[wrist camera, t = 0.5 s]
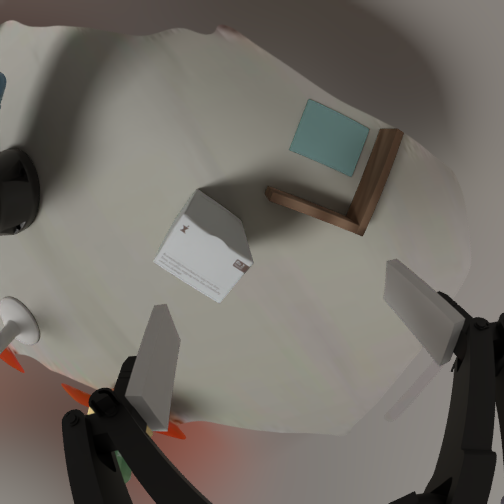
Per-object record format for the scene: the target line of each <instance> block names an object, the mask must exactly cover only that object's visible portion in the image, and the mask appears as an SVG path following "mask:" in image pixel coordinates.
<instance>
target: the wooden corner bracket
mask: <svg viewBox="0 0 504 504" xmlns="http://www.w3.org/2000/svg"><path fill="white" fill-rule="evenodd" d="M403 134H404V133H403V132H402V131H400V130H399V129H380V130H379V133H378V136H377V139H376V142H375V144H374V147H373V150H372V152H371V155H370V158H369V160H368V163H367V166H366V168H365V171H364V173H363V176H362V178H361V181H360V183H359V186H358V188H357V191H356V193H355V196H354V198H353V200H352V203H351V205H350V208H349V210H348V212H347V215H346V216H344V215H342V214H339V213H337V212H335V211H332V210H330V209H327V208H325V207H322V206H320V205H317V204H315V203H312V202H309V201H307V200H304V199H302V198H299V197H296V196H294V195H291V194H289V193H286V192H283V191H280V190H278V189H275V188H272V187H269V186H268V187H267V189H266V192H265V195H266V197H267V198H268V200H269V201H271V202H274V203H276V204H279V205H282V206H285V207H288V208H290V209H293V210H296V211H299V212H301V213H304V214H307V215H309V216H312V217H315V218H317V219H320V220H322V221H325V222H328V223H330V224H333V225H335V226H338V227H340V228H343V229H345V230H348V231H350V232H353V233H355V234H358V235H360V236H363V235H364V233H365V230H366V228H367V226H368V224H369V221H370V219H371V217H372V215H373V212H374V210H375V208H376V205H377V203H378V200H379V198H380V196H381V193H382V191H383V188H384V186H385V183H386V181H387V178H388V176H389V173H390V170H391V168H392V165H393V162H394V160H395V157H396V154H397V151H398V148H399V146H400V143H401V140H402V137H403Z"/></svg>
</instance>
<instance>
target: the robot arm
mask: <svg viewBox="0 0 504 504" xmlns="http://www.w3.org/2000/svg"><path fill="white" fill-rule="evenodd" d="M5 87H6V78H5V76H4V74H3V73H1V72H0V104H1V100H2V97H3V94H4V91H5ZM0 108H1V105H0ZM39 196H40V190H39V181H38V176H37V172H36V169H35V167H34V165H33V163H32V161H31V159H30V158H29V157H28V155H27V154H25V153H24V152H23V151H21V150H18V149H9V150H4V151H1V152H0V236H2V235H14V234H17V233H19V232H21V231H23V230H25V229H26V228H27V227H29V226H30V224H31V223H32V222H33V220H34V218H35V216H36V213H37V210H38V205H39ZM384 300H385V301H386V302H387V304H388V305H389V306H390V307H391V308H392V309H393V311H394V312H395V313H396V314H397V315H398V316H399V318H400V319H401V320H402V321H403V322H404V323H405V325H406V326H407V327H408V328H409V329H410V331H411V332H412V333H413V334H414V335H415V337H416V338H417V339H418V340H419V342H420V343H421V344H422V345H423V347H424V348H425V349H426V350H427V352H428V353H429V354H430V355H431V357H432V358H433V359H434V360H435V362H436V363H437V364H438V366H441V365H443V364H445V363H447V362H449V361H450V359H451V357H452V354H453V352H454V353H455V355H456V356H457V357H456V360H455V362H454V364H453V367H452V369H451V372H453V369H454V378H453V388H452V395H451V402H450V408H449V414H448V419H447V424H446V429H445V434H444V438H443V442H442V446H441V451H440V454H439V458H438V461H437V465H436V468H435V471H434V474H433V476H432V478H431V480H430V482H429V483H428V485H427V487H426V489H425V491H424V493H423V494H416V493H415V491H414V492H412V493H410V494H408V495H406V496H404V497H402V498H399V499H397V500H395V501H393V502H390V503H389V504H487V501H488V497H489V494H490V490H491V485H492V481H493V476H494V471H495V466H496V456H497V455H496V453H495V452H493V451H492V449H491V448H492V439H493V429H494V417H495V402H496V407H497V412H498V418H499V424H500V432H501V439H502V449H503V462H504V313H502V314H501V315H500V317H499V320H498V322H493V323H489V322H488V321H487V320H485V319H484V318H480V317H476V318H472V317H471V316H470V315H469V314H468V313H467V312H466V311H465V310H464V309H463V308H461V307H460V306H459V305H457V303H456V302H455V301H453V299H451V298H450V297H449V296H448V295H446V294H444V293H442V292H440V291H439V292H436V291H435V290H433V289H432V288H431V287H430V286H429V285H428V284H427V283H425V282H424V281H423V280H422V279H421V278H419V277H418V276H417V275H416V274H415V273H414V272H412V271H411V270H410V269H409V268H407V267H406V266H405V265H404V264H403V263H401V262H400V261H399V260H398V259H394V260H390V261H387V264H386V278H385V289H384ZM180 341H181V340H180V338H179V335H178V333H177V330H176V328H175V325H174V322H173V320H172V317H171V315H170V312H169V309H168V306H167V304H162V305H155V306H154V308H153V311H152V313H151V316H150V319H149V322H148V325H147V328H146V330H145V333H144V336H143V339H142V342H141V345H140V348H139V351H138V354H137V356H130V357H128V358H127V359H126V360H125V362H124V363H123V365H122V367H121V370H120V373H119V376H118V379H117V382H116V385H115V388H114V391H113V390H112V389H110V388H101V389H98V390H96V391H95V392H94V393H93V394H92V395H91V396H90V398H89V406H90V408H91V409H92V410H93V411H94V412H95V413H93V414H89V415H84V414H83V413H82V412H81V411H80V410H77V409H75V410H71V411H69V412H67V413H66V414H65V415H64V417H63V419H62V432H63V442H64V451H65V458H66V465H67V471H68V476H69V482H70V486H71V491H72V495H73V500H74V504H133V503H132V500H131V498H130V495H129V493H128V490H127V487H126V485H125V482H124V479H123V476H122V473H121V470H120V467H119V464H118V461H117V458H116V454H115V451H117V450H118V451H119V453H120V454H121V456H122V457H123V459H124V460H125V462H126V463H127V465H128V466H129V468H130V469H131V471H132V472H133V474H134V475H135V476H136V478H137V479H138V481H139V482H140V483H141V485H142V486H143V487H144V489H145V490H146V491H147V493H148V494H149V495H150V496H151V497H152V499H153V500H154V501H155V502H156V504H212V503H211V502H210V501H209V500H208V499H207V498H206V497H205V496H204V495H202V494H201V493H200V492H199V491H198V490H197V489H196V488H195V487H194V486H193V485H192V484H191V483H190V482H189V481H188V480H187V479H186V478H185V477H184V476H183V475H182V473H180V471H179V470H178V469H177V468H176V467H175V466H174V465H173V464H172V463H171V461H169V459H168V458H167V457H166V456H165V455H164V453H163V452H162V451H161V450H160V449H159V447H158V446H157V445H156V444H155V443H154V441H153V440H152V439H151V438H150V436H149V435H148V434H147V433H146V428H147V425H148V427H149V428H150V429H151V430H152V431H167V430H168V422H169V414H170V406H171V399H172V391H173V385H174V378H175V371H176V365H177V359H178V353H179V347H180ZM501 504H504V496H503V497H502V499H501Z"/></svg>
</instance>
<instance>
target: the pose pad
mask: <svg viewBox="0 0 504 504" xmlns="http://www.w3.org/2000/svg"><path fill="white" fill-rule="evenodd" d="M368 132H369V129H368V128H367V127H365V126H363V125H361V124H359V123H357V122H356V121H354V120H352V119H350V118H348V117H346V116H344V115H342V114H340V113H338V112H336V111H334V110H332V109H330V108H328V107H326V106H323V105H321V104H319V103H317V102H315V101H312V100H310V99H309V100H308V102H307V105H306V108H305V110H304V113H303V115H302V118H301V121H300V123H299V126H298V128H297V131H296V134H295V136H294V139H293V141H292V144H291V147H290V149H289V150H290V151H293V152H295V153H298V154H300V155H303V156H305V157H308V158H310V159H312V160H315V161H317V162H319V163H322V164H324V165H326V166H328V167H331V168H333V169H335V170H337V171H339V172H342V173H344V174H346V175H348V176H350V177H352V174H353V172H354V169H355V166H356V164H357V161H358V159H359V156H360V153H361V151H362V148H363V145H364V143H365V140H366V137H367V135H368Z"/></svg>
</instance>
